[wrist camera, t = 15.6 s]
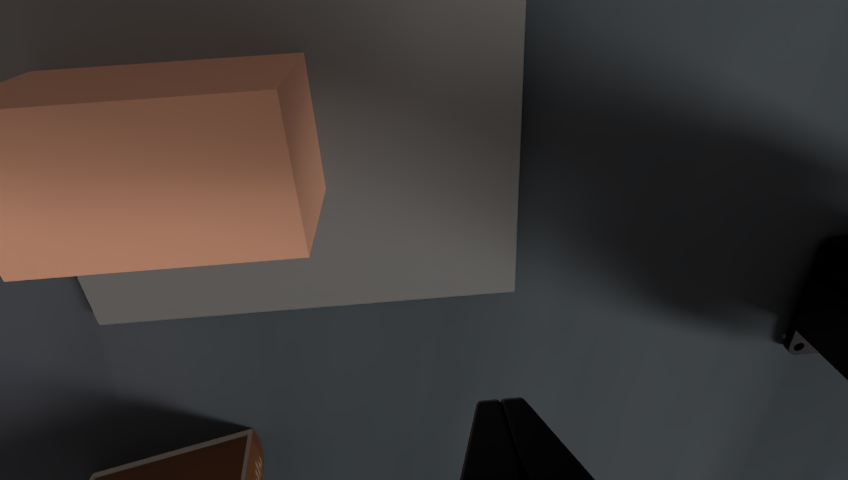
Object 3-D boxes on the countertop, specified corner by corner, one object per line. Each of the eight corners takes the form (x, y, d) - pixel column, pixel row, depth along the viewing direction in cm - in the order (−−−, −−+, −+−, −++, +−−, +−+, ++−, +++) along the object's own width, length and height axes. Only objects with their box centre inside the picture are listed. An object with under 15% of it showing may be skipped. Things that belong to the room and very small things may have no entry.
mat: (527, -161, 16) (532, -164, 15) (511, 283, 24) (514, 291, 23) (-94, -125, 15) (-111, -127, 15) (105, 316, 23) (99, 324, 23)
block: (276, 89, 13) (-89, 115, 13) (309, 257, 16) (3, 281, 16) (303, 52, 18) (30, 71, 17) (325, 188, 20) (87, 206, 20)
